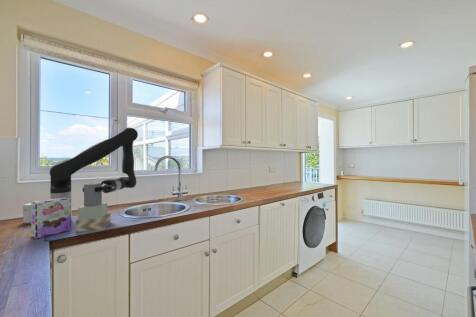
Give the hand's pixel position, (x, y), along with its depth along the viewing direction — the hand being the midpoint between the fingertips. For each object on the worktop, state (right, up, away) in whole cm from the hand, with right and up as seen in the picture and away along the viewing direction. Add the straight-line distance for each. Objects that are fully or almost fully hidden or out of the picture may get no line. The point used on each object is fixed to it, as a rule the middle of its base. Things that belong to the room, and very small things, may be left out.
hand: (89, 189), depth 113 cm
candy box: (-14, -20, -6) cm, 25 cm away
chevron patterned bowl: (+1, -20, +3) cm, 20 cm away
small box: (-41, -21, +13) cm, 48 cm away
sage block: (+1, -14, +2) cm, 14 cm away
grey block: (0, -8, +2) cm, 9 cm away
